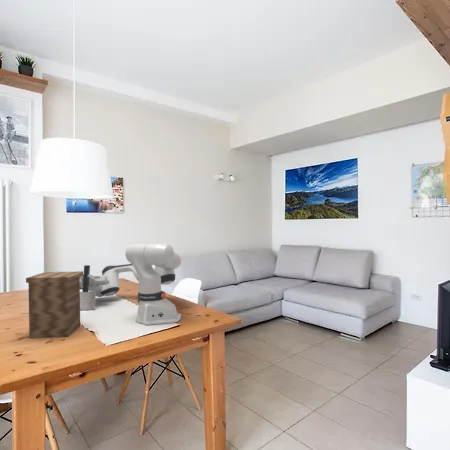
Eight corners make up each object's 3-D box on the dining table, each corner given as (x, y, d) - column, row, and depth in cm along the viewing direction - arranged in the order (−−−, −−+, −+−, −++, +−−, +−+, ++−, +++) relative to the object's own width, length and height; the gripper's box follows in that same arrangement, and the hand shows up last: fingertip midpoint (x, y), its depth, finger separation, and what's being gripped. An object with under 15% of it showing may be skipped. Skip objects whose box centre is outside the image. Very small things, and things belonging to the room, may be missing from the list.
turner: (97, 265, 183) (96, 265, 181) (94, 309, 179) (93, 310, 177) (78, 265, 182) (76, 265, 180) (75, 309, 178) (73, 310, 176)
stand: (84, 324, 152) (83, 271, 152) (70, 336, 136) (69, 277, 136) (45, 326, 151) (44, 272, 151) (27, 338, 135) (25, 278, 135)
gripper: (109, 288, 190) (103, 280, 178) (75, 289, 189) (66, 281, 177) (111, 278, 193) (104, 270, 181) (77, 279, 192) (68, 270, 180)
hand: (85, 275), depth 179 cm, fingers closed on turner, 2 cm apart
